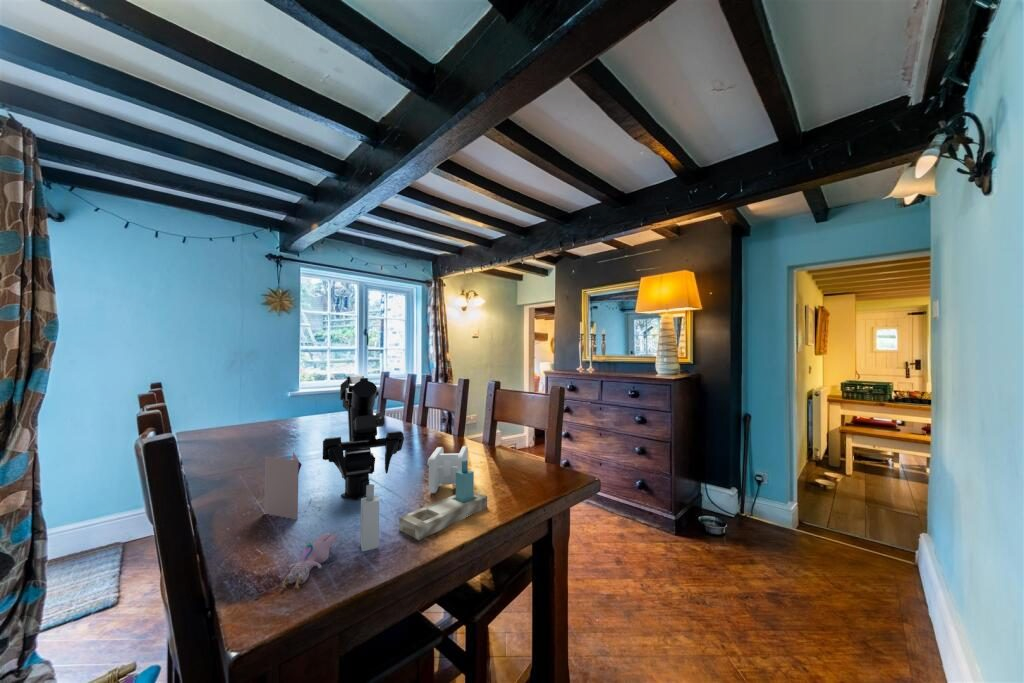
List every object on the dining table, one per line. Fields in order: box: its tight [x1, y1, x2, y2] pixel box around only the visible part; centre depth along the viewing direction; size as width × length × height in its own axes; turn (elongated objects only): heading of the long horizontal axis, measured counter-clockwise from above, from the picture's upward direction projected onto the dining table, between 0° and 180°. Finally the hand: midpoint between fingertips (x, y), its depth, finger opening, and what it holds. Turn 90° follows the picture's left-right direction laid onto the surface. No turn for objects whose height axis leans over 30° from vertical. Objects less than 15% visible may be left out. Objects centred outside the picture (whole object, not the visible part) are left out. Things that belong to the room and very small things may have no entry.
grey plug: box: [360, 483, 380, 552], centre depth 79 cm, size 3×3×13 cm
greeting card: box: [263, 451, 302, 521], centre depth 94 cm, size 11×7×15 cm, turn 37°
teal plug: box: [455, 459, 475, 503], centre depth 97 cm, size 3×3×13 cm
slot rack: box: [398, 491, 488, 541], centre depth 92 cm, size 22×8×3 cm, turn 141°
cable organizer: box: [427, 445, 469, 494], centre depth 114 cm, size 15×11×12 cm
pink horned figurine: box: [281, 532, 339, 590], centre depth 71 cm, size 6×6×15 cm
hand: (366, 475), depth 86 cm, fingers open, 9 cm apart
